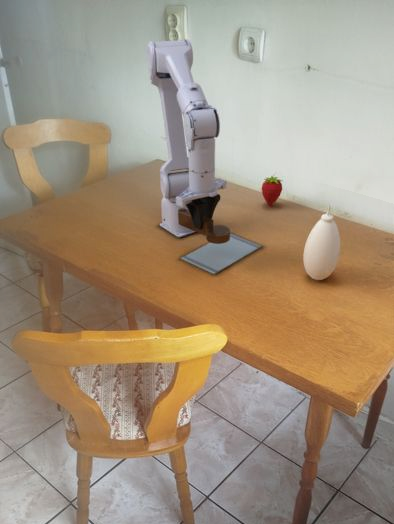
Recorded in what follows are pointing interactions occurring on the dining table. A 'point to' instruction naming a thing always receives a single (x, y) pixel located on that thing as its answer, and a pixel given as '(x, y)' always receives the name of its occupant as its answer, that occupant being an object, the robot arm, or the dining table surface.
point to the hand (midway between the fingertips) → (202, 226)
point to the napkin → (221, 254)
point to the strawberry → (271, 189)
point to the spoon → (205, 228)
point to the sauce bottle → (322, 248)
